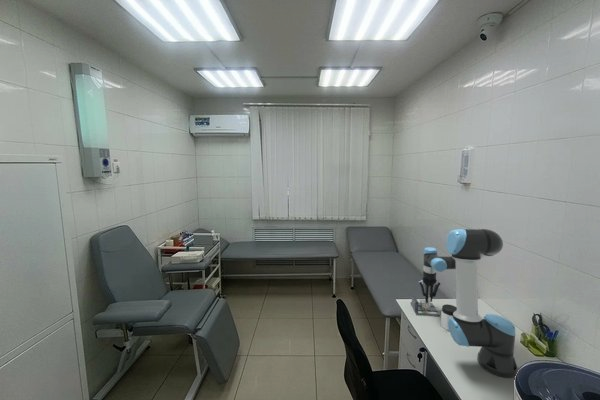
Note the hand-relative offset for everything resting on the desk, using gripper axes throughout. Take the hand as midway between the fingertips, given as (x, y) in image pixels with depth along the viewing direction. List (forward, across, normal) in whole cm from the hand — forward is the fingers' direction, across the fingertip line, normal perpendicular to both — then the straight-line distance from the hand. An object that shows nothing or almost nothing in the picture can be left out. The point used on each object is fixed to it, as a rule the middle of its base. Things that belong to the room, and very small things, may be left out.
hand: (428, 306), depth 174 cm
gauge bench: (+3, +2, 0) cm, 4 cm away
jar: (+3, -6, +18) cm, 19 cm away
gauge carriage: (+1, +3, +2) cm, 3 cm away
